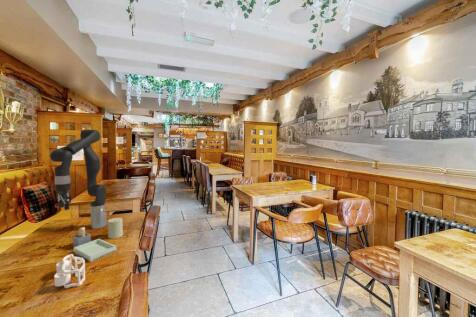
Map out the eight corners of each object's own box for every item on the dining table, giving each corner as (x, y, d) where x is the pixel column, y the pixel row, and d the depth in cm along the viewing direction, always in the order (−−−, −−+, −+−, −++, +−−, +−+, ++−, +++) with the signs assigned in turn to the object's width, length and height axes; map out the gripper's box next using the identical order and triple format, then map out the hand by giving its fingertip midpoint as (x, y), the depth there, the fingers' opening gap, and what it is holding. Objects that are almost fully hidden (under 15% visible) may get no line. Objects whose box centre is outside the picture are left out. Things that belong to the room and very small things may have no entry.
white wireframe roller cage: (57, 271, 104) (56, 257, 104) (84, 264, 111) (84, 250, 111) (53, 294, 89) (53, 277, 88) (85, 283, 95) (85, 268, 95)
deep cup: (85, 241, 137) (85, 232, 136) (91, 244, 133) (90, 234, 133) (73, 246, 131) (72, 236, 130) (78, 248, 127) (78, 238, 127)
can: (109, 239, 140) (108, 222, 139) (106, 235, 147) (106, 218, 146) (124, 236, 146) (124, 219, 145) (121, 232, 153) (121, 216, 152)
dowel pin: (83, 242, 134) (83, 227, 134) (86, 243, 133) (85, 228, 132) (77, 244, 131) (77, 228, 131) (80, 245, 130) (79, 229, 129)
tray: (98, 243, 135) (98, 238, 135) (116, 250, 125) (116, 246, 125) (73, 252, 123) (73, 247, 123) (90, 262, 113) (90, 256, 113)
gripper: (75, 183, 127) (76, 208, 128) (65, 180, 134) (66, 205, 135) (59, 185, 120) (61, 212, 121) (50, 182, 128) (51, 208, 129)
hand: (64, 208), depth 128 cm, fingers open, 8 cm apart
